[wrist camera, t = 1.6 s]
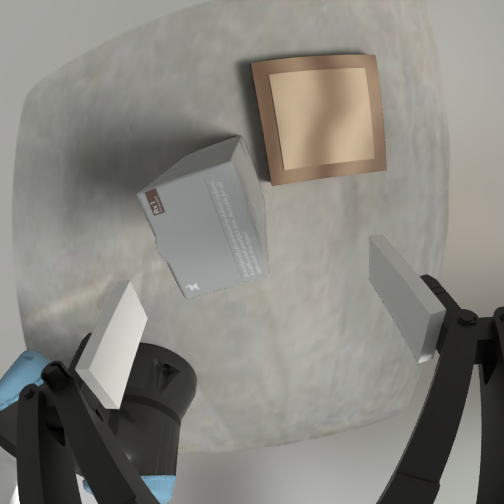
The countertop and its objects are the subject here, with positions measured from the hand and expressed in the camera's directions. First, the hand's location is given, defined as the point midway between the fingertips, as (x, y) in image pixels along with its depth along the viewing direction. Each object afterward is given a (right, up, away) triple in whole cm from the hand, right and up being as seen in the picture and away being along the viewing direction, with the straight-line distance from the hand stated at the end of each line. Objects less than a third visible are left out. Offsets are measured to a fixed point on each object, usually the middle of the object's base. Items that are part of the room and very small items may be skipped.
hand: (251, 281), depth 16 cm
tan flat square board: (+7, +16, +14) cm, 22 cm away
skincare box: (-3, +10, +17) cm, 19 cm away
